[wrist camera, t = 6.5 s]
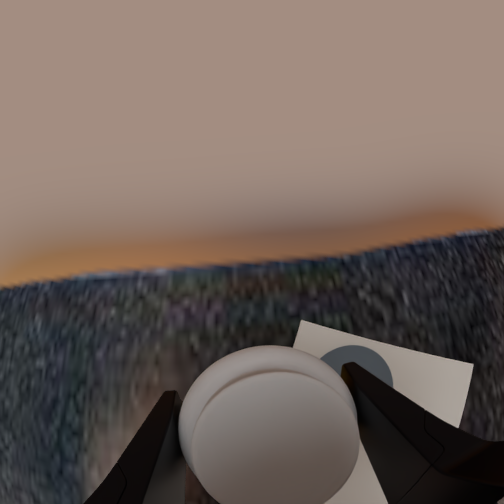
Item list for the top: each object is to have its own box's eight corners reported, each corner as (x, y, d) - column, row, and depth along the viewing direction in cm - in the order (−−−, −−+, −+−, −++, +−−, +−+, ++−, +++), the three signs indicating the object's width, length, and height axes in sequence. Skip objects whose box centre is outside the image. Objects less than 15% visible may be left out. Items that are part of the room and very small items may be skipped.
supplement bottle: (317, 363, 16) (409, 352, 6) (297, 455, 14) (360, 544, 4) (219, 345, 16) (182, 313, 7) (199, 438, 14) (141, 517, 5)
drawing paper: (472, 364, 22) (474, 364, 21) (417, 524, 16) (418, 525, 15) (300, 320, 23) (301, 319, 23) (233, 509, 17) (233, 510, 17)
